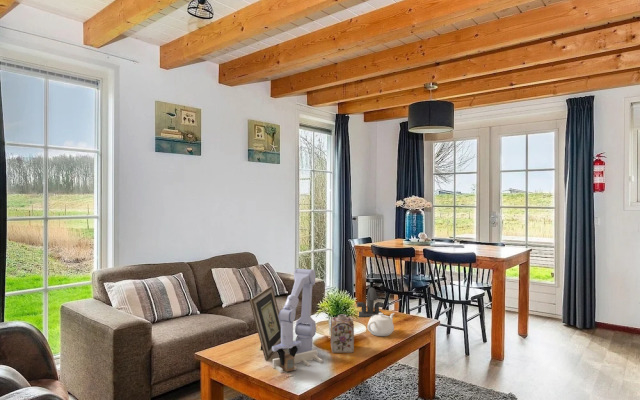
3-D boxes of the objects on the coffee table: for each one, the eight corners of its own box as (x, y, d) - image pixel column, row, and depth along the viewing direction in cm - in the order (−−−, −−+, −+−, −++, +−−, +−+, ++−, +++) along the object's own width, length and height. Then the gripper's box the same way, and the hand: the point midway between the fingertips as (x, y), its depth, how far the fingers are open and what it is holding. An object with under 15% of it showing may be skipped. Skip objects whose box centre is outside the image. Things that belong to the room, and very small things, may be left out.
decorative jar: (351, 345, 232) (352, 312, 232) (354, 353, 221) (354, 318, 221) (330, 345, 232) (330, 312, 232) (331, 353, 220) (331, 318, 220)
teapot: (378, 341, 238) (379, 319, 238) (357, 334, 250) (358, 313, 249) (404, 331, 256) (404, 311, 256) (383, 325, 267) (384, 306, 267)
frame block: (280, 367, 201) (280, 354, 201) (287, 365, 203) (287, 352, 203) (286, 371, 196) (286, 358, 196) (294, 369, 198) (294, 357, 198)
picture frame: (267, 360, 210) (267, 300, 210) (248, 359, 212) (248, 299, 212) (286, 338, 242) (286, 286, 242) (269, 337, 244) (269, 285, 244)
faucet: (360, 320, 278) (360, 290, 277) (356, 313, 293) (356, 285, 293) (387, 320, 279) (387, 289, 279) (381, 313, 295) (382, 284, 295)
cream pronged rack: (272, 367, 202) (272, 357, 202) (315, 357, 214) (315, 348, 214) (279, 373, 195) (279, 363, 195) (323, 362, 208) (323, 353, 208)
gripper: (276, 339, 192) (276, 369, 192) (304, 334, 200) (304, 363, 200) (270, 335, 198) (269, 364, 198) (297, 330, 206) (297, 358, 206)
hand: (286, 363), depth 200 cm, fingers closed on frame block, 4 cm apart
